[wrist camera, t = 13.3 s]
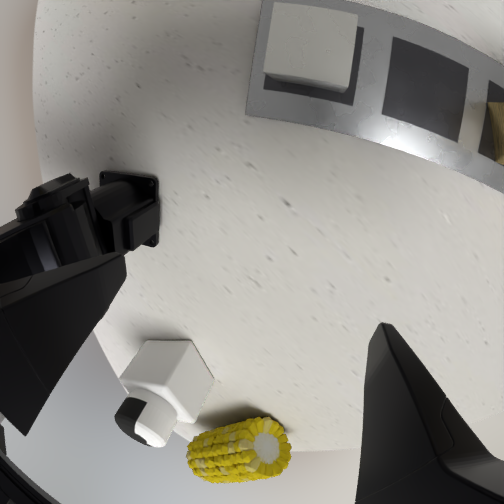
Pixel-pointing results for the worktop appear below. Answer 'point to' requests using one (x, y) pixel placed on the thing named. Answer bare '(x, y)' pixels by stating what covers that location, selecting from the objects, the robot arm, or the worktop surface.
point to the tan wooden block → (497, 129)
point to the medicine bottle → (162, 390)
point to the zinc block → (311, 46)
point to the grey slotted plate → (396, 91)
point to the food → (240, 452)
